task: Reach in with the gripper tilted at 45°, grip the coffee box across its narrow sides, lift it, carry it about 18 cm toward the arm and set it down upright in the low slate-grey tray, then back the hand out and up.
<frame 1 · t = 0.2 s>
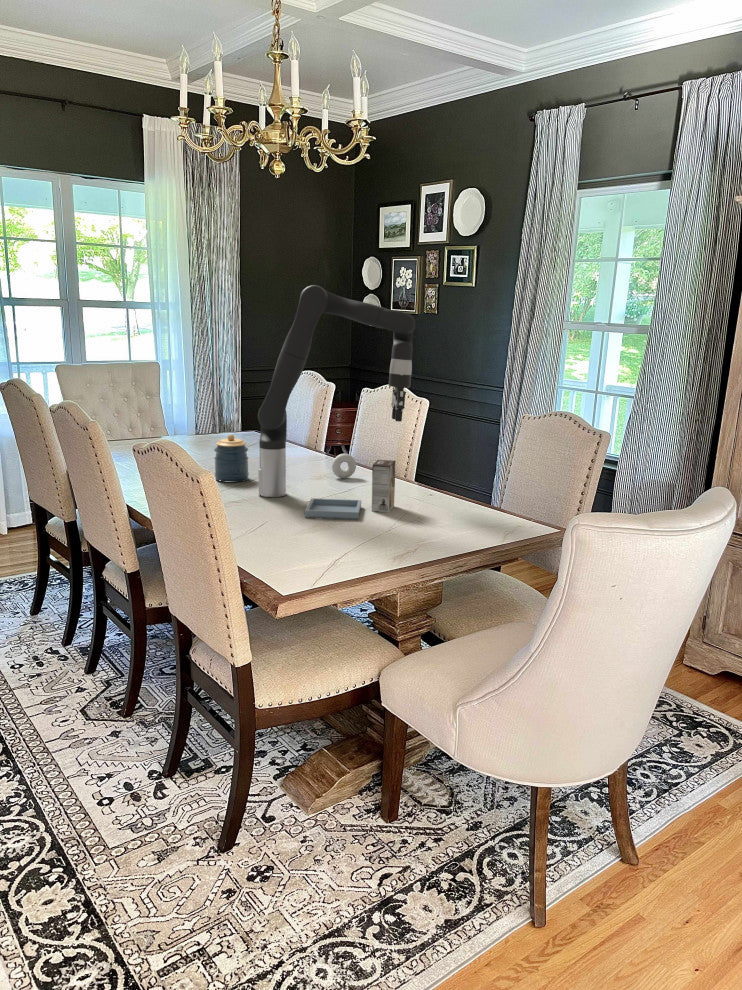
hand: (396, 420, 260), 28 cm above the table, tool pointing down, fingers open, 8 cm apart
donut: (343, 478, 297), on the table
tray: (333, 512, 247), on the table
canister: (231, 479, 291), on the table
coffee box: (382, 509, 254), on the table
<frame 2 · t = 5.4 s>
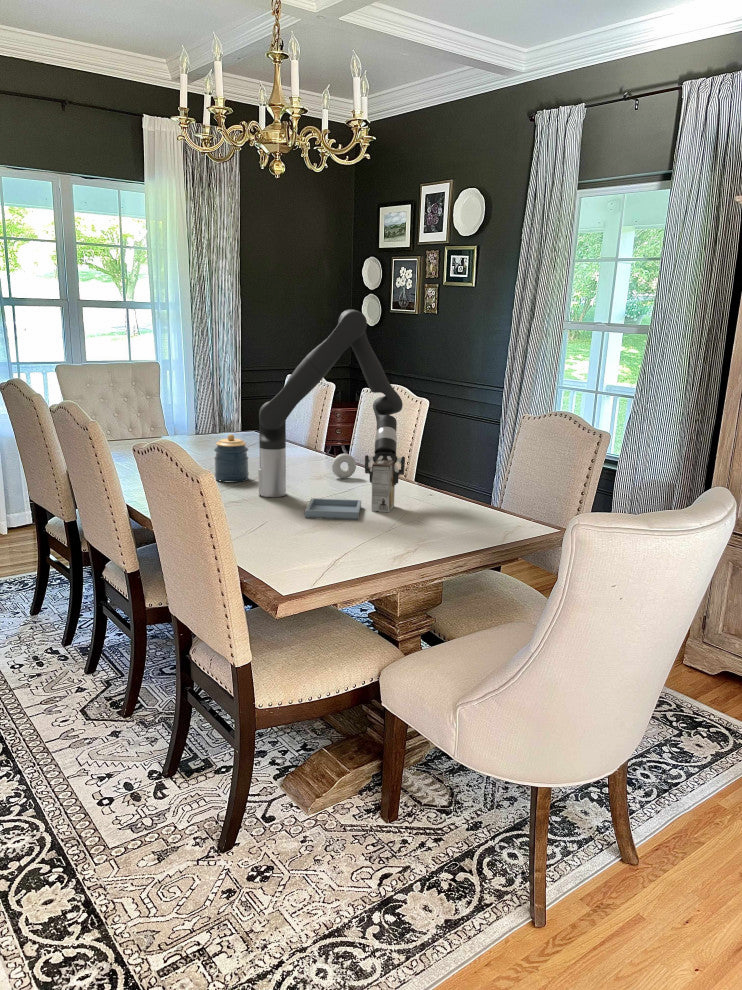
hand: (383, 483, 251), 9 cm above the table, tool tilted 45°, fingers closed on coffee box, 7 cm apart
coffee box: (382, 509, 254), on the table, touching gripper
everything else where it was.
when the fingers open (11 cm above the table, at t = 13.1 s): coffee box drops 1 cm, resting on tray.
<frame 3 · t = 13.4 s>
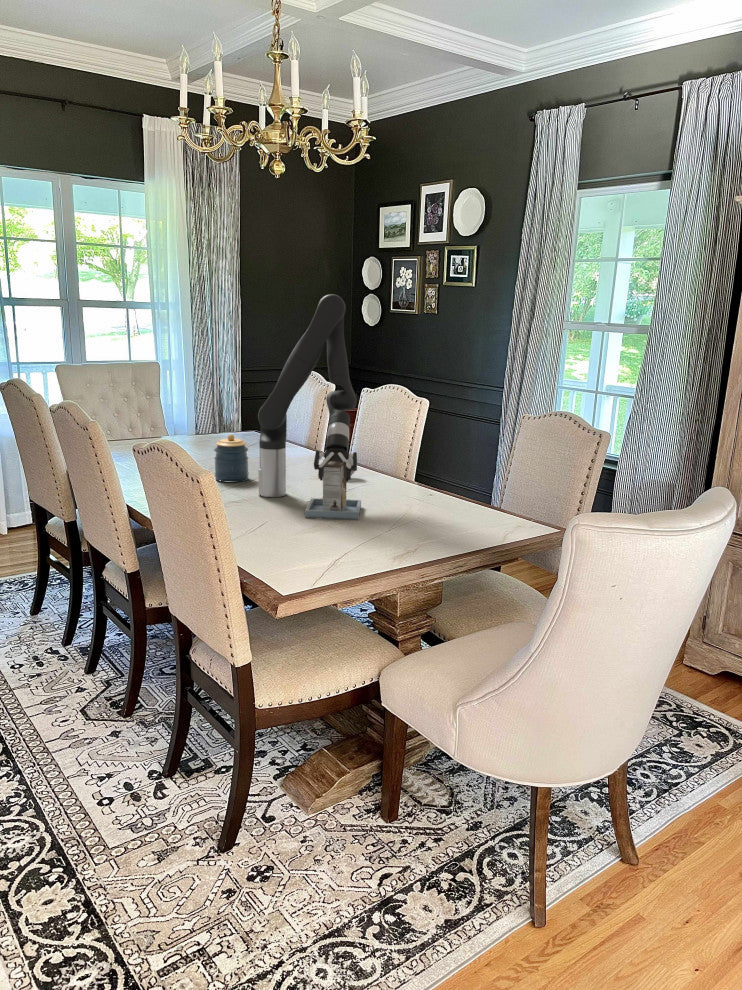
hand: (334, 479, 244), 11 cm above the table, tool tilted 45°, fingers open, 8 cm apart
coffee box: (334, 511, 248), resting on tray
everything else where it was.
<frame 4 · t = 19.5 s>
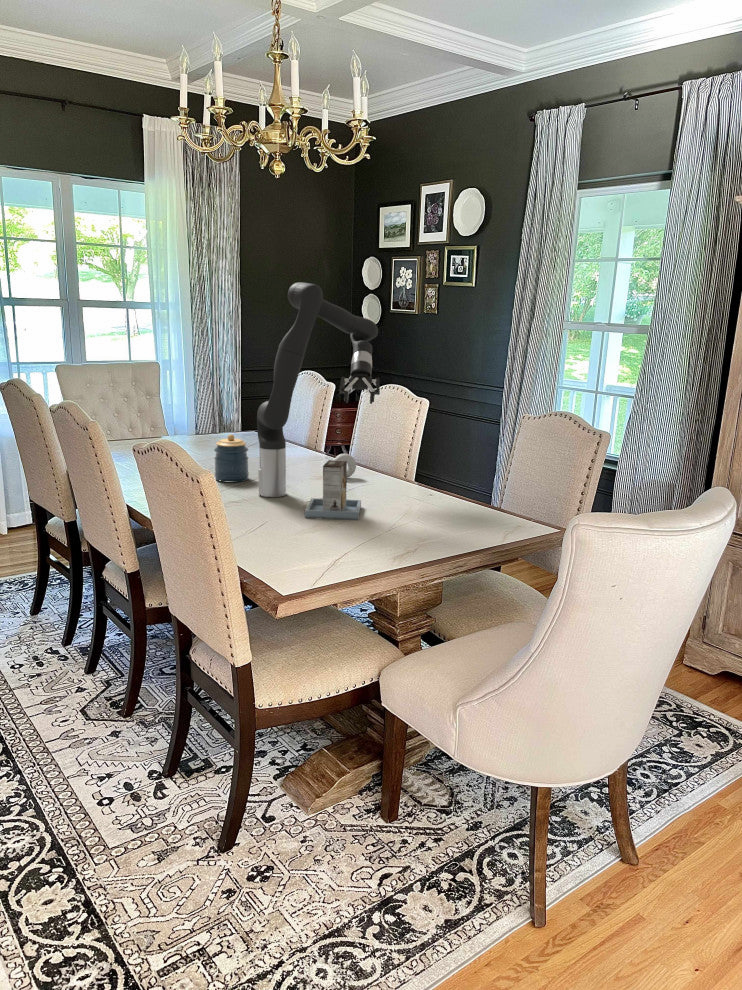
hand: (358, 402, 263), 34 cm above the table, tool tilted 45°, fingers open, 8 cm apart
nothing on the table moved.
at the end: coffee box inside the target area on the tray (0.4 cm from its centre), point 0.4 cm above the tray's base; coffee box tilted 0°; the gripper is holding nothing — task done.
